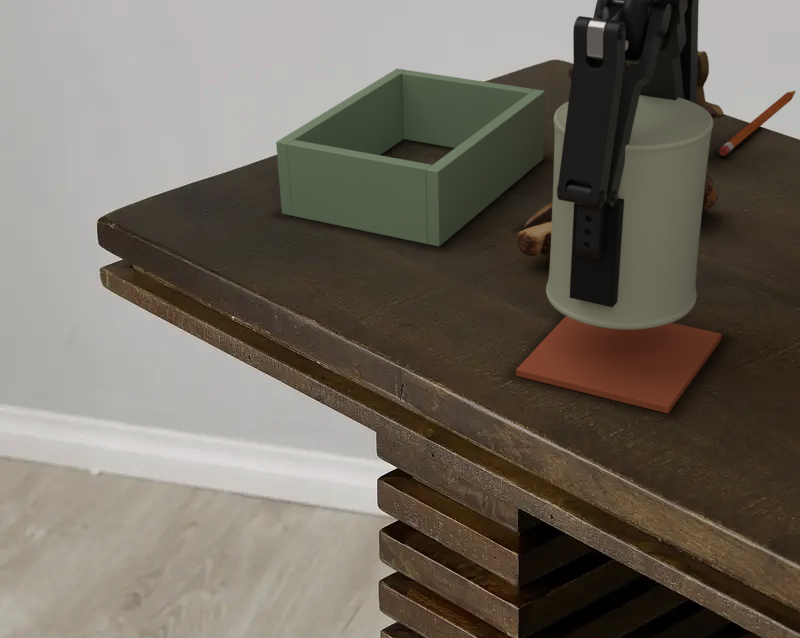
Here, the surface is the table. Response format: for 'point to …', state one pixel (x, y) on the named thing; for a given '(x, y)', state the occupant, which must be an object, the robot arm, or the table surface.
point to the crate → (406, 180)
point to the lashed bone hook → (539, 234)
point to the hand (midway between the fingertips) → (623, 267)
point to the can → (644, 219)
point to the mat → (622, 361)
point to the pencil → (756, 123)
